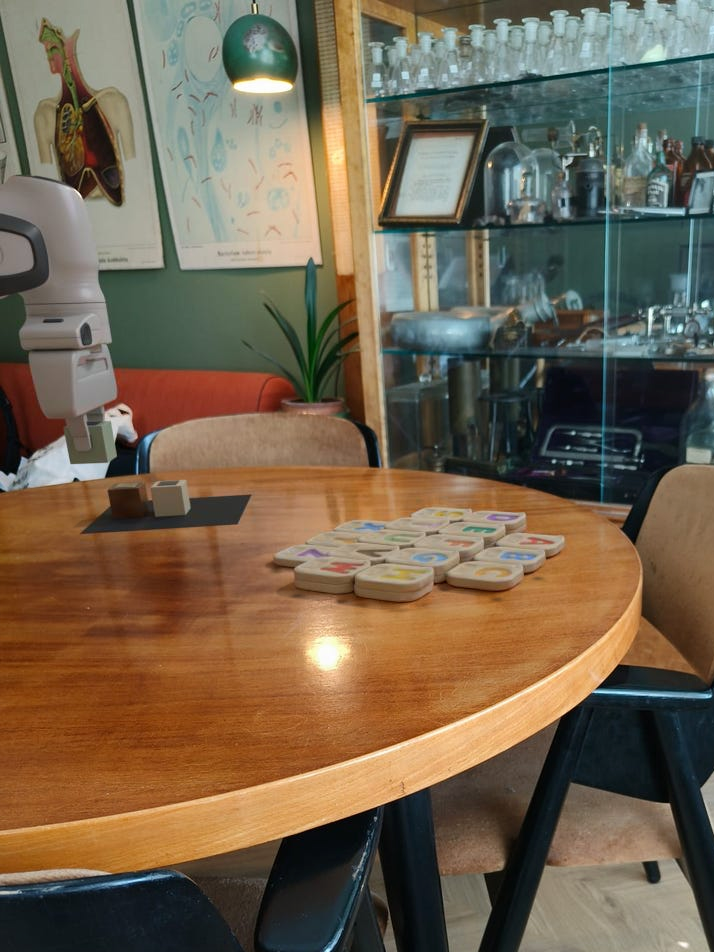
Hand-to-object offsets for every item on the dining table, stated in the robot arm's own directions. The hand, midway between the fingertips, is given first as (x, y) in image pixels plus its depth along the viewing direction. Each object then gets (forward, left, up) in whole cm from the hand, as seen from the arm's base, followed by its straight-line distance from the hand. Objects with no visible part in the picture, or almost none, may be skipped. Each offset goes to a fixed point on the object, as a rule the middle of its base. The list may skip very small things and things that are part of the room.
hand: (91, 446), depth 110 cm
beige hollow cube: (+4, +21, -14) cm, 26 cm away
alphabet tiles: (+40, -10, -14) cm, 43 cm away
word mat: (+4, +21, -14) cm, 26 cm away
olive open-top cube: (0, 0, -2) cm, 2 cm away
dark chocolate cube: (-2, +21, -14) cm, 26 cm away
